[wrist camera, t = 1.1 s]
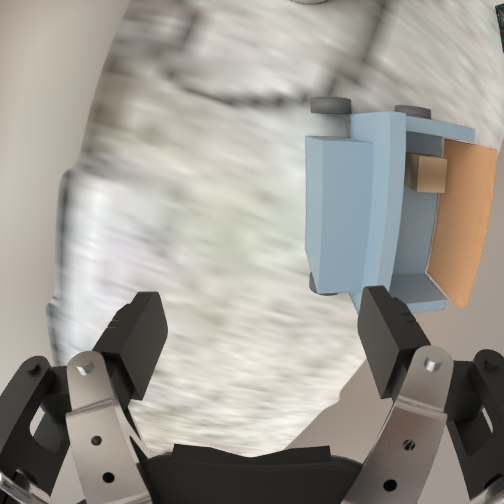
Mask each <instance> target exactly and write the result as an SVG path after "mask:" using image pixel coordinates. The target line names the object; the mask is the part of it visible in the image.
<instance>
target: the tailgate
mask: <svg viewBox="0 0 504 504" xmlns="http://www.w3.org/2000/svg"><path fill="white" fill-rule="evenodd" d="M444 158H445V159H447V171H446V182H445V192H444V193H441V196H440V205H439V212H438V219H437V226H436V232H435V238H434V243H433V249H432V254H431V258H430V263H429V268H428V272H427V273H428V274H429V275H430V276H431V277H432V278H433V279H434V280H435V281H436V282H437V283H438V284H439V286H440V287H441V288H442V289H443V290H444V291H445V292H446V293H447V294H448V296H449V297H450V298H451V299H452V300H453V301H454V302H455V303H456V305H457V306H458V307H459V308H462V307H466V305H467V302H468V299H469V296H470V293H471V290H472V287H473V284H474V280H475V277H476V274H477V270H478V266H479V262H480V259H481V255H482V251H483V247H484V242H485V237H486V233H487V228H488V223H489V217H490V212H491V205H492V198H493V191H494V183H495V173H496V161H497V150H496V149H492V148H488V147H484V146H479V145H475V144H470V143H465V142H460V141H455V140H449V139H445V140H444Z"/></svg>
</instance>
